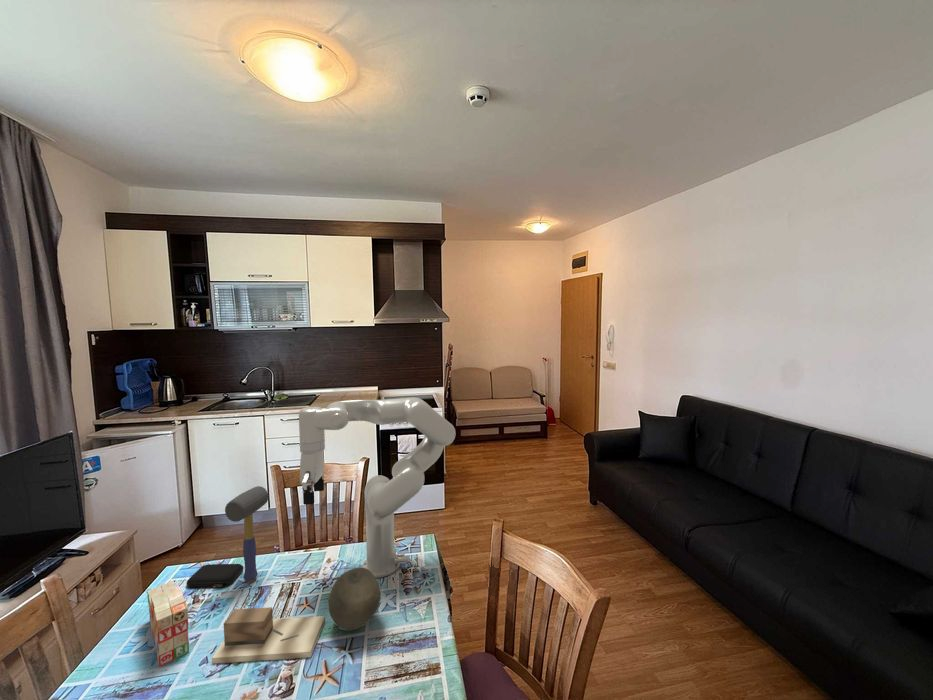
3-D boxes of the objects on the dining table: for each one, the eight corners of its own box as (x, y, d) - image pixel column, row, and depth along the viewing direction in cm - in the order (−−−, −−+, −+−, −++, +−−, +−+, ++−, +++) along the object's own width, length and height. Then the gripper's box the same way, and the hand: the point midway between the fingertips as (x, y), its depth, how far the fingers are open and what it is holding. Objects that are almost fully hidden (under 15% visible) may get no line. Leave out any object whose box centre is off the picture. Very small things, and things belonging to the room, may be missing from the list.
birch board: (325, 621, 108) (324, 616, 108) (310, 657, 96) (310, 651, 96) (237, 626, 107) (237, 621, 107) (212, 663, 95) (211, 657, 95)
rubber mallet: (247, 594, 120) (243, 501, 118) (226, 592, 121) (221, 499, 119) (273, 569, 132) (270, 485, 130) (254, 567, 133) (250, 483, 132)
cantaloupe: (324, 649, 99) (322, 593, 98) (334, 609, 113) (332, 560, 112) (379, 641, 101) (378, 587, 100) (382, 603, 115) (381, 555, 114)
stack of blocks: (148, 621, 109) (146, 580, 108) (176, 610, 114) (174, 570, 113) (159, 668, 94) (156, 620, 93) (190, 652, 98) (187, 606, 98)
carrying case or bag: (180, 592, 122) (227, 591, 122) (180, 583, 121) (227, 581, 122) (203, 571, 132) (246, 570, 133) (202, 562, 132) (245, 561, 132)
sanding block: (273, 628, 104) (272, 607, 104) (264, 643, 99) (263, 621, 99) (235, 630, 103) (234, 609, 103) (224, 645, 98) (223, 623, 98)
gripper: (309, 438, 132) (311, 486, 133) (290, 454, 114) (292, 510, 115) (332, 437, 132) (333, 485, 133) (315, 453, 115) (317, 509, 116)
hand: (314, 497), depth 124 cm, fingers open, 9 cm apart
